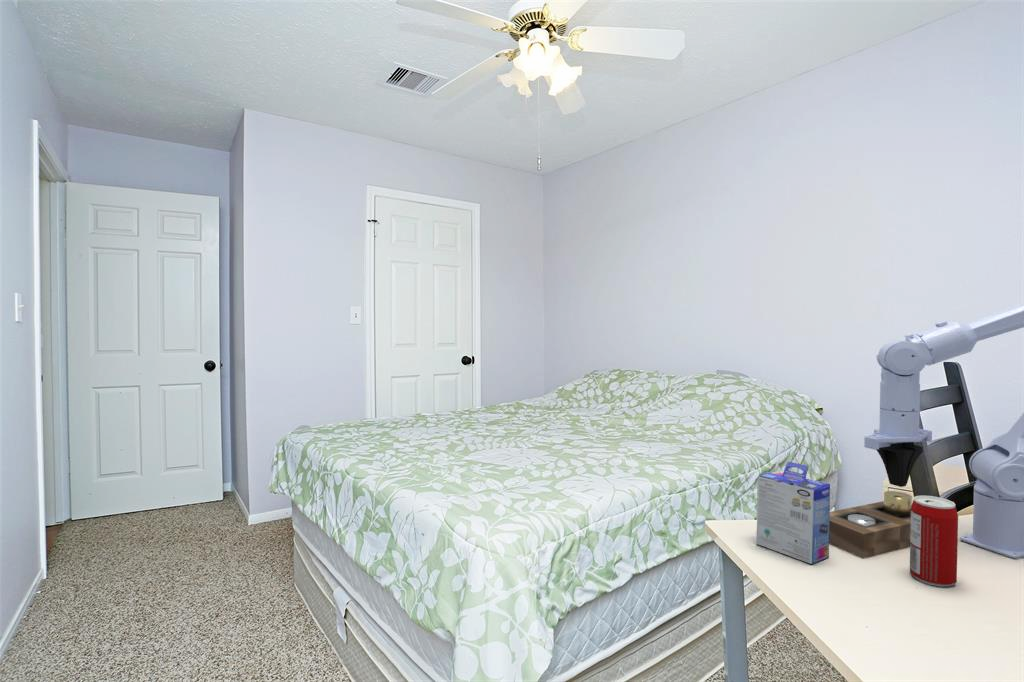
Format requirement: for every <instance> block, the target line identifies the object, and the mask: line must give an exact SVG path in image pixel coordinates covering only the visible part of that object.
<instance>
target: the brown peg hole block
mask: <svg viewBox="0 0 1024 682" xmlns="http://www.w3.org/2000/svg"><path fill="white" fill-rule="evenodd" d="M852 514H858V515H865V516H868V517H871V518H873V519H875V524H873V525H869V526H863V525H860V524H858V523H855V522H852V521H850V520H848V516H849V515H852ZM910 529H911V516H910V517H905V518H900V517H897V516H894V515H891V514H888V513H885V512H884V500H883V501H877V502H872V503H868V504H863V505H857V506H853V507H852V506H851V507H847V508H844V509H838V510H833V511H830V513H829V543H831V544H830V545H832V544H833V545H832V546H834V547H837V548H839V549H841V550H843V551H846V552H848V553H850V554H852V553H853V555H855V556H857V557H859V558H861V559H866V558H870V557H874V556H879V555H883V554H887V553H890V552H895V551H898V550H903V549H907V548H910Z"/></svg>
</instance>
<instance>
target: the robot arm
mask: <svg viewBox="0 0 1024 682" xmlns="http://www.w3.org/2000/svg"><path fill="white" fill-rule="evenodd" d="M1019 329H1024V302H1020V303H1018V304H1016V305H1013V306H1010V307H1008V308H1006V309H1003V310H1001V311H997V312H995V313H992V314H991V315H988V316H985V317H983V318H979V319H977V320H974V321H972V322H969V323H967V324H965V323H962V322H960V321H955V320H953V321H949V322H947V320H941V321H939V322H935V327H931V328H929V329H927V330H924V331H921V332H918V333H915V334H913V333H912V332H911V333H906V334H904V337H905V340H897V339H896V340H891V341H888V342H886V343H885V344H883V345H882V347H880V349H879V351H878V354H877V355H876V361H877V363H878V365H879V366H880V367H881V373H880V377H881V378H880V379H881V380H880V383H879V384H880V385H879V427H878V428H877V429H876V428H875V429H873V433H871V434H870V435H866V436H864V442H863V443H864V446H863V447H864V448H866V449H871V450H874V451H876V452H877V453H878V455H879V456H880V458H881V460H882V463H883V465H884V467H885V473H886V474H887V479H888V482H889V485H893V486H896V487H898V488H899V487H900V488H904V487H906V486H907V484H908V482H909V478H910V476H911V474H912V473H911V472H912V469H913V467H914V465H915V464H916V462H917V460H918V459H919V457H920V456H921V455H922V453H923V452H924V450H923V448H924V447H922V446H920V445H917V444H915V443H920V442H921V443H922V442H927V443H928V442H932V441H933V430H930V429H929V430H928V429H924V428H920V409H921V408H920V407H921V402H920V401H921V384H920V380H921V378H920V376H921V375H920V374H921V371H923V369H924V368H925V367H926V366H928V367H929V366H932V365H935V364H938V363H941V362H944V361H948V360H950V359H955V358H956V357H959V356H960V357H961V356H962V355H965V354H969V353H971V352H972V351H973V350H974V347H975V345H976V344H977V343H978V342H979V341H983V340H986V339H990V338H993V337H996V336H1000V335H1003V334H1005V333H1009V332H1013V331H1016V330H1019ZM968 466H969V467H968V468H969V470H970V471H971V473H972V475H973V476H974V477H975V478H976V482H975V484H974V485H973V507H972V508H973V510H972V533H970V534H965V535H963V536H962V535H961V536H959V540H960V541H963V542H965V543H968V544H971V545H974V546H977V547H979V548H982V549H985V550H989V551H992V552H995V553H997V554H1000V555H1004V556H1006V557H1009V558H1012V559H1019V558H1021V557H1024V412H1023V413H1022V414H1021V415H1020V417H1019V418H1018V419H1017V420H1016V422H1015V423H1014V424H1013V425H1012V426H1011V428H1009V430H1008V431H1007V432H1006V433H1004V434H1002V435H999V436H997V437H995V438H994V439H992V441H990V443H989V444H988V445H986V446H984V447H982V448H981V449H978V450H977V451H975V452H973V453H972V455H971V457H970V458H969V463H968Z"/></svg>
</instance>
